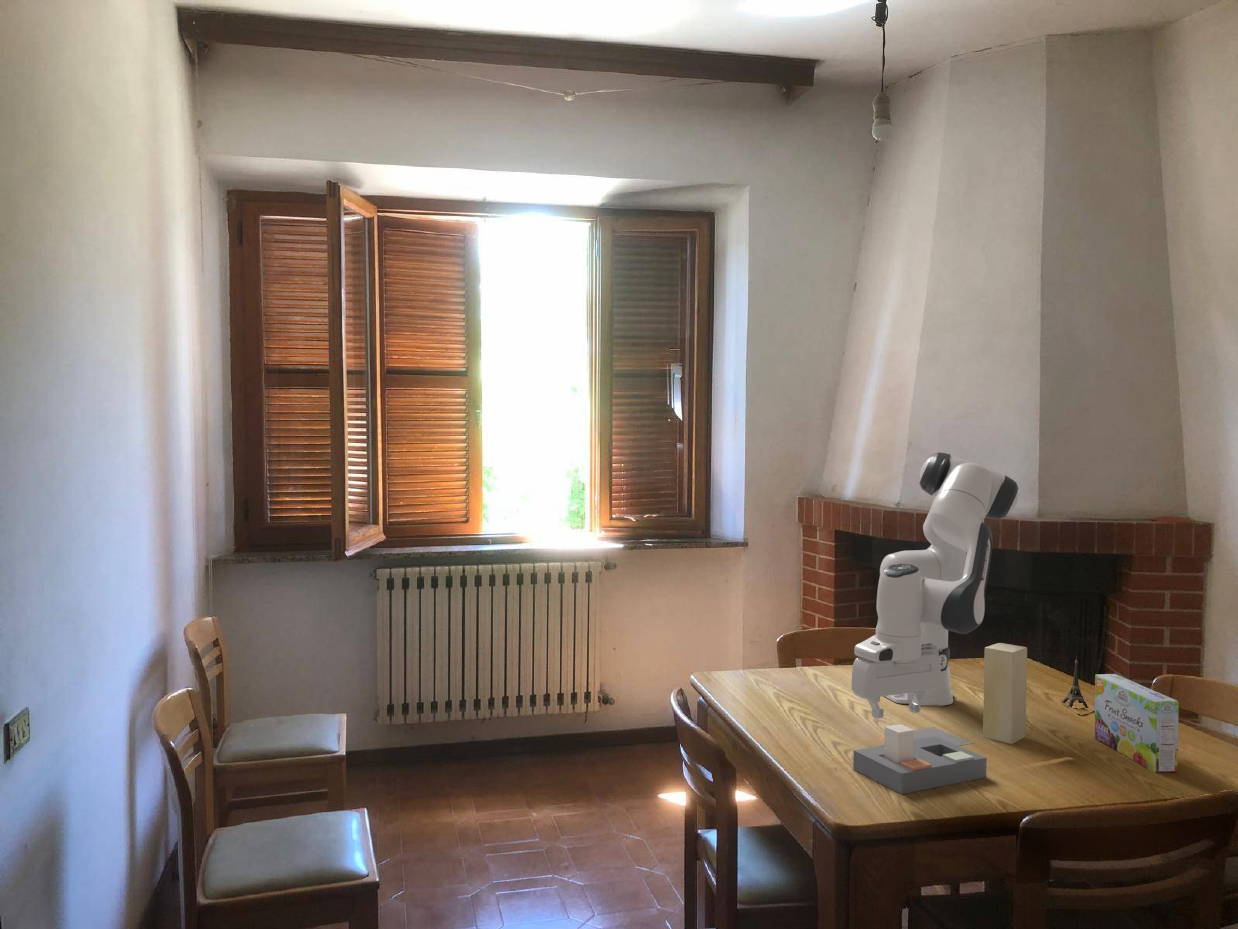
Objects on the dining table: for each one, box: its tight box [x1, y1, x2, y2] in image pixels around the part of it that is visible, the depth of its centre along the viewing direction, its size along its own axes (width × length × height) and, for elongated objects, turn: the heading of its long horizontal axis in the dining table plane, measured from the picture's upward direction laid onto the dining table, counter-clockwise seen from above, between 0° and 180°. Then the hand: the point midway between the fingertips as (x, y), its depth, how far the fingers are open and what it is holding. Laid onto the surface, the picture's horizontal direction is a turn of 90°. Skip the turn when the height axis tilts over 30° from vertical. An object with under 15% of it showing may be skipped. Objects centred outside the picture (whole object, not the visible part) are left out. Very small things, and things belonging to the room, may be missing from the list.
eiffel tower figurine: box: [1061, 655, 1094, 708], centre depth 233 cm, size 15×10×13 cm
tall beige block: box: [982, 642, 1028, 745], centre depth 207 cm, size 8×7×21 cm
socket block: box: [852, 736, 988, 795], centre depth 185 cm, size 14×22×4 cm, turn 115°
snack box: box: [1094, 673, 1180, 774], centre depth 197 cm, size 21×6×15 cm, turn 5°
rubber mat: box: [913, 727, 974, 747], centre depth 205 cm, size 12×12×1 cm
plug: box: [883, 723, 915, 764], centre depth 183 cm, size 4×4×10 cm
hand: (896, 714), depth 183 cm, fingers open, 8 cm apart
